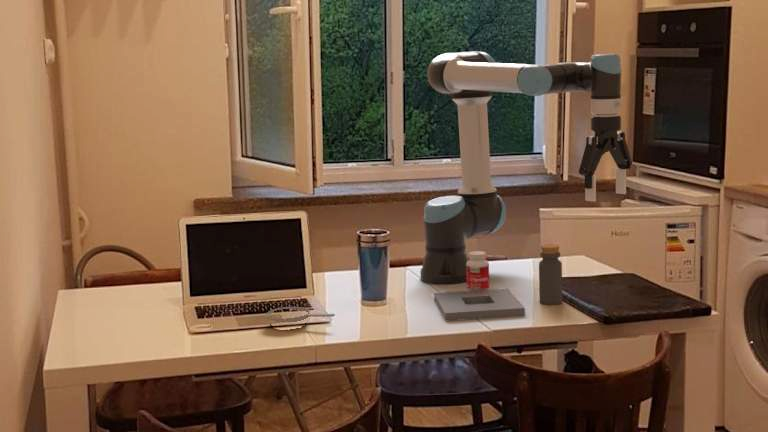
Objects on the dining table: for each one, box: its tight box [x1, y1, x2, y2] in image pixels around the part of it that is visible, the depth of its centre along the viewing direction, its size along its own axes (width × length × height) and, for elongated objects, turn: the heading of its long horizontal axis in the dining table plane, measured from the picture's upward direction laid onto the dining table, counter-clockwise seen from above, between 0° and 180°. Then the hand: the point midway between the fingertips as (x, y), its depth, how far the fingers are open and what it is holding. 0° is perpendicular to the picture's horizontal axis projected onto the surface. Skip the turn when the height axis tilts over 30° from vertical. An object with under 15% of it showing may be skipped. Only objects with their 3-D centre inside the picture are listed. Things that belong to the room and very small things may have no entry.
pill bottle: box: [466, 250, 490, 291], centre depth 272 cm, size 6×6×11 cm
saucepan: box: [266, 306, 336, 323], centre depth 247 cm, size 11×18×4 cm, turn 68°
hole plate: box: [433, 288, 526, 321], centre depth 257 cm, size 20×20×2 cm
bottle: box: [538, 243, 563, 306], centre depth 258 cm, size 6×6×15 cm
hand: (606, 197), depth 258 cm, fingers open, 13 cm apart
